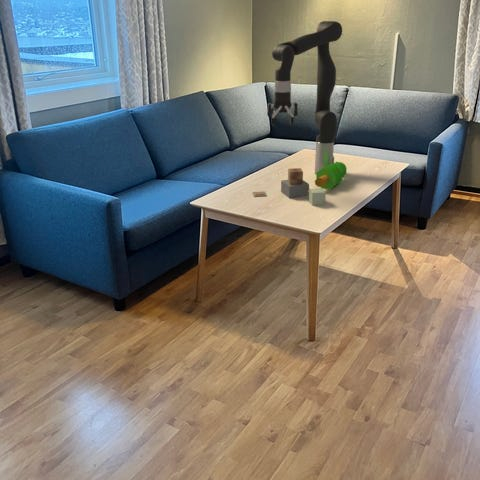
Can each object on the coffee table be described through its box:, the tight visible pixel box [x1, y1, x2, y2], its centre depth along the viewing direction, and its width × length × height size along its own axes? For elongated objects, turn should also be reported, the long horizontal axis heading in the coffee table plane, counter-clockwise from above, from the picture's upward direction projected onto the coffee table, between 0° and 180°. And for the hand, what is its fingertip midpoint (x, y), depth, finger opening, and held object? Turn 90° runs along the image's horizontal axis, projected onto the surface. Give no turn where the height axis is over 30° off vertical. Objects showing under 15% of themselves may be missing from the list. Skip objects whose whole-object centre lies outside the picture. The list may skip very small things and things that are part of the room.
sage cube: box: [308, 187, 327, 206], centre depth 240 cm, size 6×6×6 cm
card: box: [252, 190, 268, 198], centre depth 253 cm, size 6×6×1 cm
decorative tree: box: [314, 161, 348, 190], centre depth 263 cm, size 11×12×30 cm
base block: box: [280, 179, 310, 199], centre depth 252 cm, size 10×10×6 cm
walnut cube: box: [287, 167, 304, 185], centre depth 249 cm, size 6×6×6 cm
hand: (282, 125), depth 253 cm, fingers open, 8 cm apart
